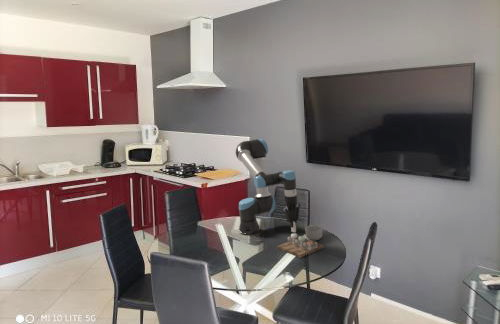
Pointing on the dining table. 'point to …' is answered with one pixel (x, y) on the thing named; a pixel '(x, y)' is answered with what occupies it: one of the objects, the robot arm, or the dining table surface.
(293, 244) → the button board
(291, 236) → the button one
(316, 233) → the teacup
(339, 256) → the dining table surface
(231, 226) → the dining table surface
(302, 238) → the button two
